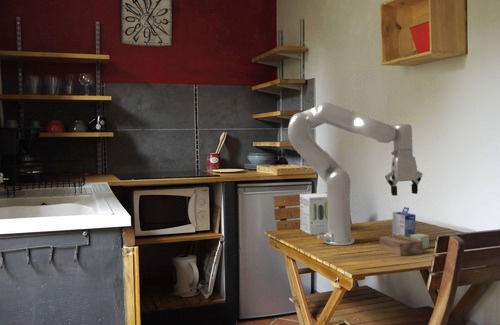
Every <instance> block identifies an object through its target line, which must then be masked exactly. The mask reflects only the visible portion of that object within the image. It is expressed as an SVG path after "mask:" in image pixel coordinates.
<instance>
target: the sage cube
mask: <svg viewBox="0 0 500 325" xmlns="http://www.w3.org/2000/svg"><path fill="white" fill-rule="evenodd" d="M410 237H411V238H414V239H417V240H420V241H423V250H425V249H429V248H430V235H429V234H423V233H415V234H413V235H410Z"/></svg>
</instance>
